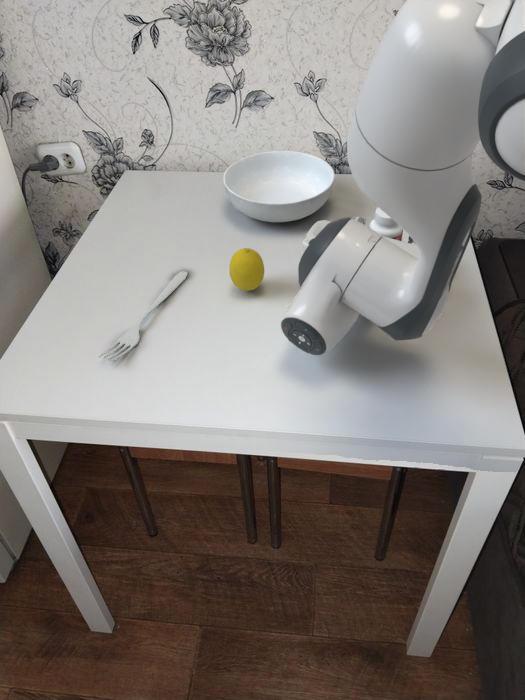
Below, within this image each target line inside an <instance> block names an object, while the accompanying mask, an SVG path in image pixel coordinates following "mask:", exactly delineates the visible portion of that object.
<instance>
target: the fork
mask: <svg viewBox="0 0 525 700" xmlns="http://www.w3.org/2000/svg"><path fill="white" fill-rule="evenodd" d="M187 277H188V272H187V271H185V270H181V271H179V272H178V273H176V274H175V275H174V276H173V278H172V279H171V280H170V281H169V283H168V284H167V285H166V286H165V288H164V289H163V290H162V291H161V293H160V294H159V295H158V296H157V298H156V299H155V300H154V301H153V303H152V304H151V305H150V306H149V307H148V308H147V309H146V310H145V312H143V314H142V315H141V316H140V317H139V318H138V320H137V321H136V322H135V324H134V325H133V326H132V327H131V328H130V329H129V330H128V331H127V332H126V333H124V334H122V335H121V336H120V337H119V338H118V339H117V340H116V341H115V342H114V343H113V344H112V345H111V346H110V347H108V348H107V349H106V350H105V351H104V352H102V353H101V354H99V355H98V356H97V357H98V358H102V359H103V360H104V359H106V358H107V357H108V358H107V359H106V361H110V360H111V361H110V362H111V363H114V362H115V361H116V360H119V359H120V358H121V357H123V356H124V355H126V354H127V353H128V352H130V351H131V350H132V349H134V348H135V347H136V346H137V345H138V344H139V342H140V339H141V338H140V327H141V324H142V323H143V321H144V320H145V319H146V318H147V316H148V315H150V314H151V312H152V311H153V310H155V309H156V308H157V307H158V306H159V305H160V304H161V303H163V302H164V301H165V300H166V299H167V298H168V297H169V296H170V295H171V294H172V293H173V292H174V291H175V290H176V289H177V288H178V287H179V286H180V285H181V284H183V282H184V281H185V280H186V279H187ZM109 351H110V352H109ZM116 351H117V352H116ZM108 352H109V353H108ZM113 353H114V354H113Z"/></svg>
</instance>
